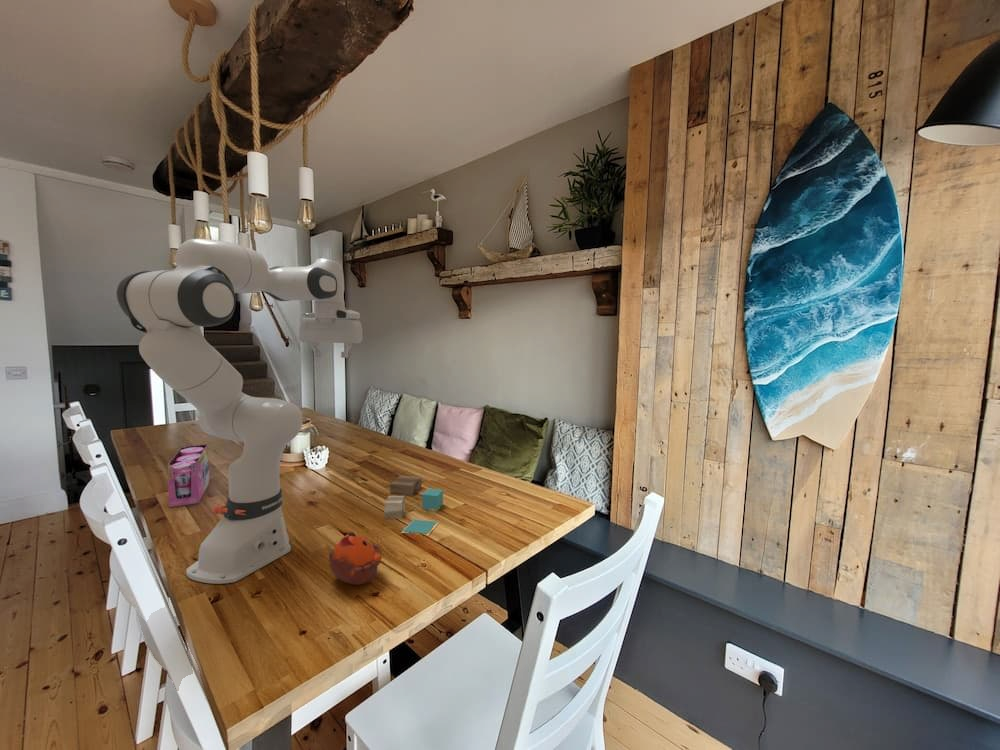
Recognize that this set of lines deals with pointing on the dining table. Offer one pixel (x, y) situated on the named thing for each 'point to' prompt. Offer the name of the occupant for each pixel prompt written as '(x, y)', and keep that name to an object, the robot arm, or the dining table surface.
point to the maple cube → (394, 506)
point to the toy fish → (355, 559)
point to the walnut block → (405, 485)
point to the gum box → (188, 475)
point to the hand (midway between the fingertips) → (331, 357)
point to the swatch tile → (419, 526)
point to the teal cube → (432, 499)
